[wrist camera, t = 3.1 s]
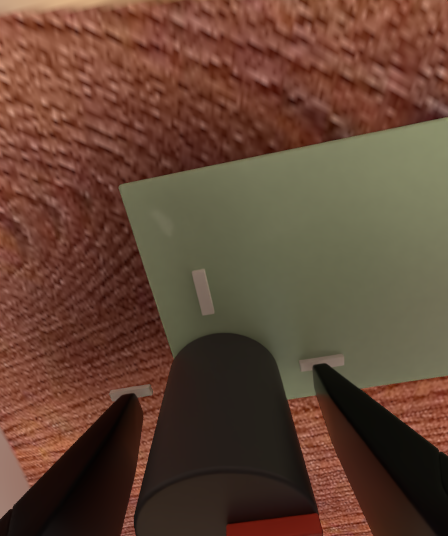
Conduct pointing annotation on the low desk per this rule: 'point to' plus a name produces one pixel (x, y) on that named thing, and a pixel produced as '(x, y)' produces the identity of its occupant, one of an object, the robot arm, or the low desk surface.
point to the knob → (225, 449)
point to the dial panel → (308, 255)
